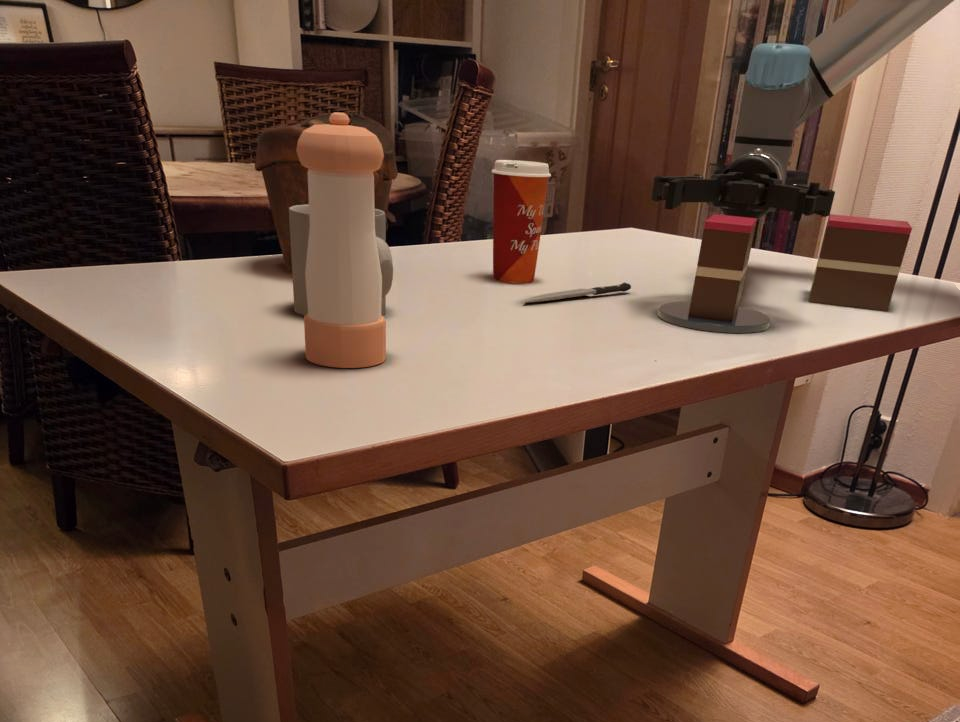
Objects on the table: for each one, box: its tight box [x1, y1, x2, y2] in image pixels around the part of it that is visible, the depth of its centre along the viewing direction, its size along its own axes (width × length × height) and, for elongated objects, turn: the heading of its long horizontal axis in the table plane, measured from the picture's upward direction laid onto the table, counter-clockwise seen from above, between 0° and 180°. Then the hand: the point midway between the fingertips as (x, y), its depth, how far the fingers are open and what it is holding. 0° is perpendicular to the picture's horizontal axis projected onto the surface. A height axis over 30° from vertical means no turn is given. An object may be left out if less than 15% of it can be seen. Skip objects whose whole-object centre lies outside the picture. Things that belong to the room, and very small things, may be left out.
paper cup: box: [490, 159, 552, 284], centre depth 113 cm, size 8×8×14 cm
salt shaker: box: [296, 111, 387, 369], centre depth 74 cm, size 7×7×19 cm
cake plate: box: [657, 300, 771, 334], centre depth 102 cm, size 13×13×1 cm
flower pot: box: [254, 112, 399, 272], centre depth 111 cm, size 18×20×18 cm
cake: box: [808, 213, 913, 312], centre depth 115 cm, size 10×8×10 cm
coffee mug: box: [289, 204, 394, 317], centre depth 91 cm, size 13×10×10 cm
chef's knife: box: [523, 281, 632, 303], centre depth 109 cm, size 19×1×3 cm
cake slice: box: [688, 213, 758, 322], centre depth 99 cm, size 5×8×10 cm, turn 161°
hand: (733, 201), depth 93 cm, fingers open, 13 cm apart
